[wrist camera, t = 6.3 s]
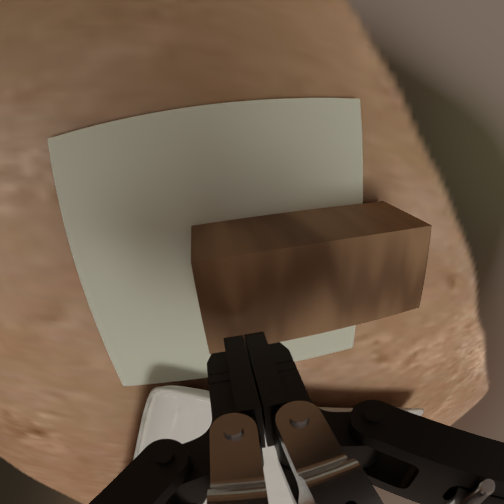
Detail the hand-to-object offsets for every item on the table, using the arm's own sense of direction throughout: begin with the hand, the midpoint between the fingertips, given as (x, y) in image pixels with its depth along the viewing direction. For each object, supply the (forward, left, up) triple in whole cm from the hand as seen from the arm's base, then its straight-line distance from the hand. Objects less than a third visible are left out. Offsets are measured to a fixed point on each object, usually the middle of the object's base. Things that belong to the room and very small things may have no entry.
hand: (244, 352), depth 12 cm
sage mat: (0, 0, -9) cm, 9 cm away
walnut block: (0, -2, -6) cm, 6 cm away
